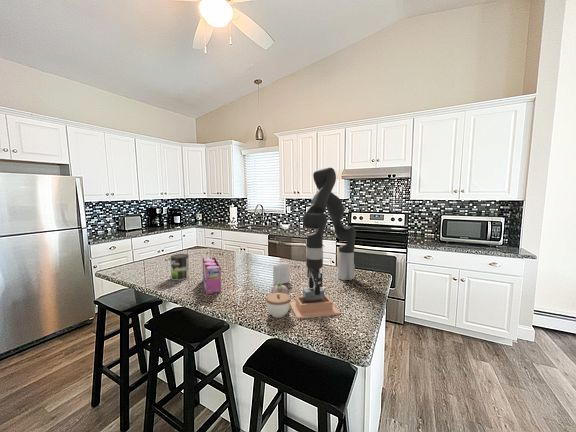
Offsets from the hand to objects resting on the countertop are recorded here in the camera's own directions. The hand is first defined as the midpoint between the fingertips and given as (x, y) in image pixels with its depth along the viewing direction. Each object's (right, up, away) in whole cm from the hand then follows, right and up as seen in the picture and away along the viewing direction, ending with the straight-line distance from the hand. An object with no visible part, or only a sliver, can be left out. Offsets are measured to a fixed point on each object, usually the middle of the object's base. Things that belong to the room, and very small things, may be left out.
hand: (314, 291), depth 118 cm
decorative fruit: (-16, -8, +6) cm, 19 cm away
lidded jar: (-16, -9, -5) cm, 19 cm away
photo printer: (-16, -5, +34) cm, 38 cm away
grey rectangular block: (0, -8, +1) cm, 8 cm away
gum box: (-56, -6, +29) cm, 64 cm away
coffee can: (-79, -4, +42) cm, 90 cm away
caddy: (0, -8, +1) cm, 8 cm away
